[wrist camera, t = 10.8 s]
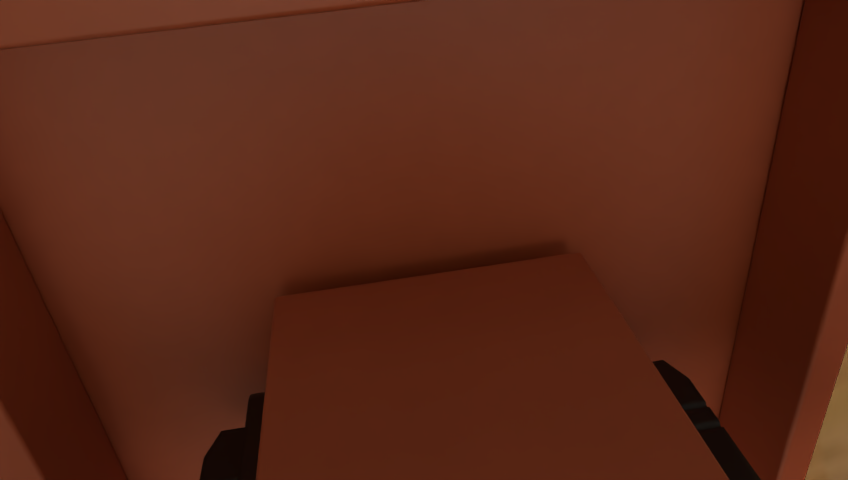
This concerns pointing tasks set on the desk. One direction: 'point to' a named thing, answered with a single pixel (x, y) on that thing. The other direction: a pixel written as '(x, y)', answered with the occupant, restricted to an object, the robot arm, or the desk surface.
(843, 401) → the desk surface
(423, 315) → the terracotta block
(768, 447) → the terracotta tray
